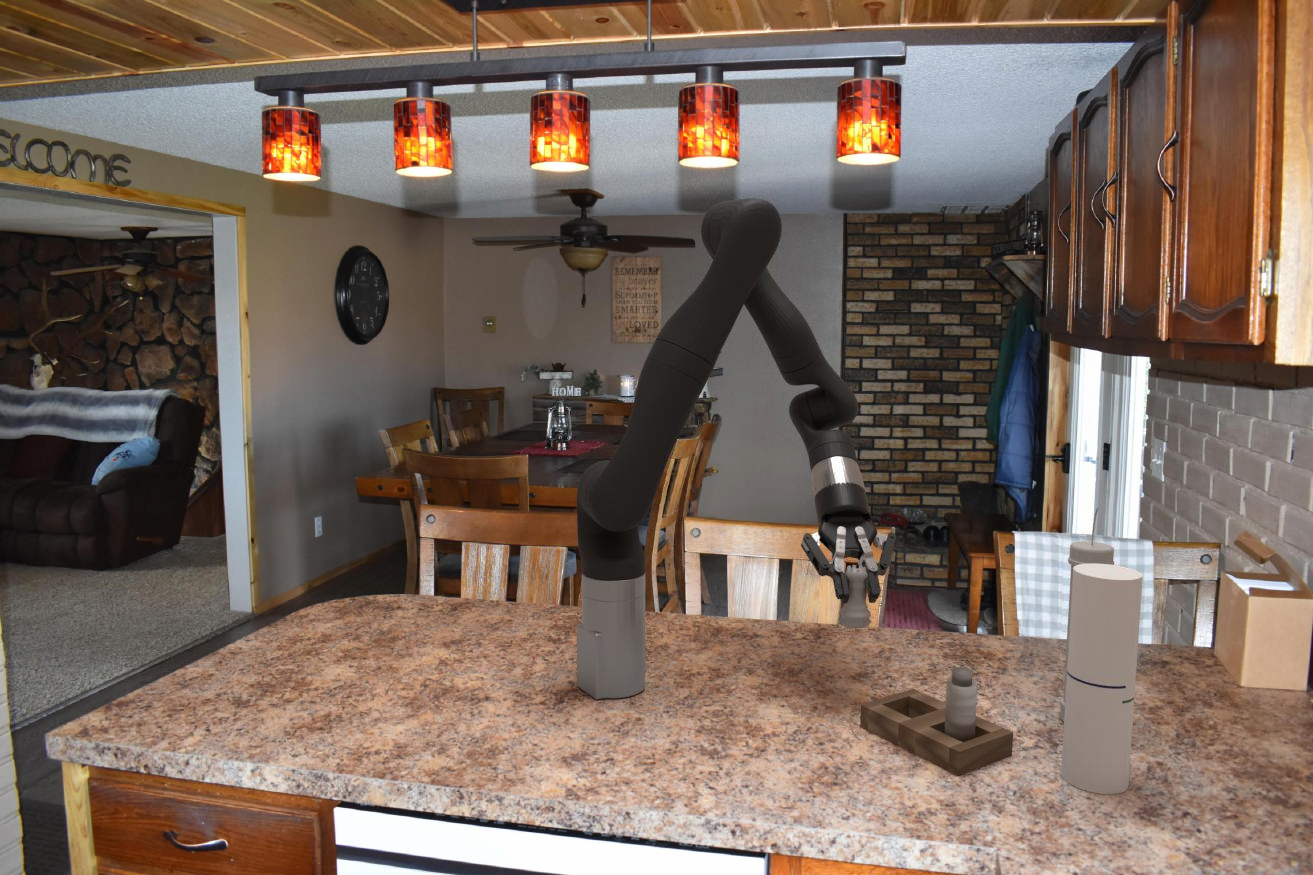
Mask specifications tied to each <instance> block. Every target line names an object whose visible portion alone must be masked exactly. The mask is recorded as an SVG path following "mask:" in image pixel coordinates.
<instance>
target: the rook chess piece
mask: <svg viewBox="0 0 1313 875" xmlns="http://www.w3.org/2000/svg"><path fill="white" fill-rule="evenodd" d="M844 573H845V574H846V579H847V585H848V590H849V600H848V602H847V603H842V608H840V610H839V612H838V614H839V615H840V617H839V618H838V622H839V623H840V624H841V625H842V626H843V627H847V628H850V629H863V628H864V629H865V628H868V626H870V624H871V623H872V620H871V619H870V618H871V616H872V614H871V611H870V610H869V606H868V605H867V603H866V594H865V593H866V592H865V590H866V584H865V579H866V577H867V576H868V574H867V572H866V568H865V567H863V566H860V565H859V564H858V568H857V565H856V564H852V565H847V567H846V570H845V571H844Z"/></svg>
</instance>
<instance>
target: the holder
mask: <svg viewBox="0 0 1313 875" xmlns="http://www.w3.org/2000/svg"><path fill="white" fill-rule="evenodd" d="M973 673H974V672H973V670H972V669H971V668H967V667H963V666H956V667H953V668H952V670H951V677H949V678H948V679H947V680H946V684H945V685H946V688H945V702H944V701H942V700H940V699H937V698H935V697H933V696H931V695H928V694H926V693H923V692H922V691H919V690H918V689H914V688H912V689H908V690H905V691H901V692H898V693H895V694H892V695H888V696H886V697H882V698H879V699H875V700H871V701H869V702H865V703H861V704H860V721H859V726H860V727H861V728H862V729H865V730H867V731H869V732H870V733H872V734H875V735H877V736H879V737H880V738H883V739H884V740H886V741H888V742H890V743H892V744H894V745H896V746H898V747H900V748H902V749H903V750H906V751H908V752H909V753H912V754H914V755H916V756H918V757H920V758H921V759H924V760H926V761H928V762H930V763H932V764H933V765H936V766H937V767H939V768H941V769H943V770H945V771H947V772H950V773H951V774H953V775H955V776H957V777H959V776H962V775H964V774H967V773H969V772H972V771H975V770H977V769H979V768H982V767H985V766H989V765H991V764H993V763H996V762H998V761H1000V760H1003V759H1006V758H1008V757H1010V756H1013V744H1014V743H1013V742H1014V732H1013V731H1012V730H1010V729H1008V728H1004V727H1003V726H1000V725H998V724H995V723H994V722H992V721H988V720H986V719H984V718H982V717H979V716H977V700H978V699H977V698H978V683H977V682H976V681H974V680H973Z"/></svg>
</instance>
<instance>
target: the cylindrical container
mask: <svg viewBox="0 0 1313 875" xmlns="http://www.w3.org/2000/svg"><path fill="white" fill-rule="evenodd" d="M1143 577H1144V575H1143V573H1142V572H1141V571H1138V570H1136V569H1133V568H1130V567H1126V566H1121V565H1116V564H1114V565H1110V564H1096V563H1089V564H1079V565H1076V566H1074V567H1073V580H1072V597H1071V614H1070V631H1069V648H1068V665H1067V682H1066V698H1065V715H1064V722H1063V736H1062V738H1063V739H1062V749H1061V750H1062V753H1061V769H1060V774H1061V777H1062V779H1063V780H1064V781H1065V782H1067V784H1070V785H1071V786H1073V787H1075V788H1076V789H1080V790H1083V791H1085V790H1086V791H1085V792H1089V793H1092V794H1098V795H1117V794H1122V793H1124V792H1126V791H1127V790H1128V789H1129V783H1130V766H1131V756H1132V755H1131V754H1132V753H1131V752H1132V738H1133V725H1134V724H1133V722H1134V707H1135V696H1136V695H1135V692H1136V680H1137V666H1138V665H1137V664H1138V652H1139V651H1138V650H1139V634H1140V625H1141V624H1140V623H1141V622H1140V621H1141V611H1142V610H1141V608H1142V607H1141V606H1142V596H1143V595H1142V592H1143V581H1144V580H1143V579H1144V578H1143Z"/></svg>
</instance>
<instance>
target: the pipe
mask: <svg viewBox="0 0 1313 875" xmlns="http://www.w3.org/2000/svg"><path fill="white" fill-rule="evenodd" d="M1096 507H1097V508H1096V509H1095V512H1094V517H1093V524H1092V531H1091V540H1089V541H1087V540H1079V541H1078V540H1077V541H1074V542H1071V544H1070V546H1069V556H1068V558H1067V563H1068V565H1069V564H1070V565H1071V566H1070V579H1069V580H1070V583H1069V598H1068V599H1069V600H1068V616H1067V628H1066V629H1067V633H1066V651H1065V665H1064V666H1065V667H1064V680H1063V681H1064V684H1063V696H1062V697H1060V700H1059V706H1060V715H1059V717H1060V719H1061V721H1062V722H1063V723H1064V715H1065V698H1066V682H1067V665H1068V648H1069V631H1070V614H1071V597H1072V580H1073V567H1074V566H1076V565H1079V564H1089V563H1096V564H1110V565H1115V561H1114V556H1115V555H1114V554H1115V547H1113V546H1112V545H1110V544H1108V543H1104V542H1099V541H1094V539H1095V538H1094V536H1095V528H1096V520H1097V516H1098V511H1099V508H1100V507H1099V506H1096Z"/></svg>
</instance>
